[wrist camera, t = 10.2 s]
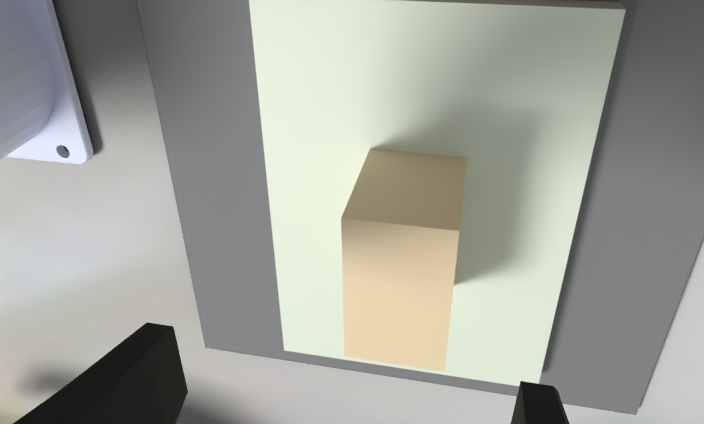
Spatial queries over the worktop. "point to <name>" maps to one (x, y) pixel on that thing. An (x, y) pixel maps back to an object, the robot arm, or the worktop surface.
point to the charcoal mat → (591, 226)
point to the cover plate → (443, 106)
